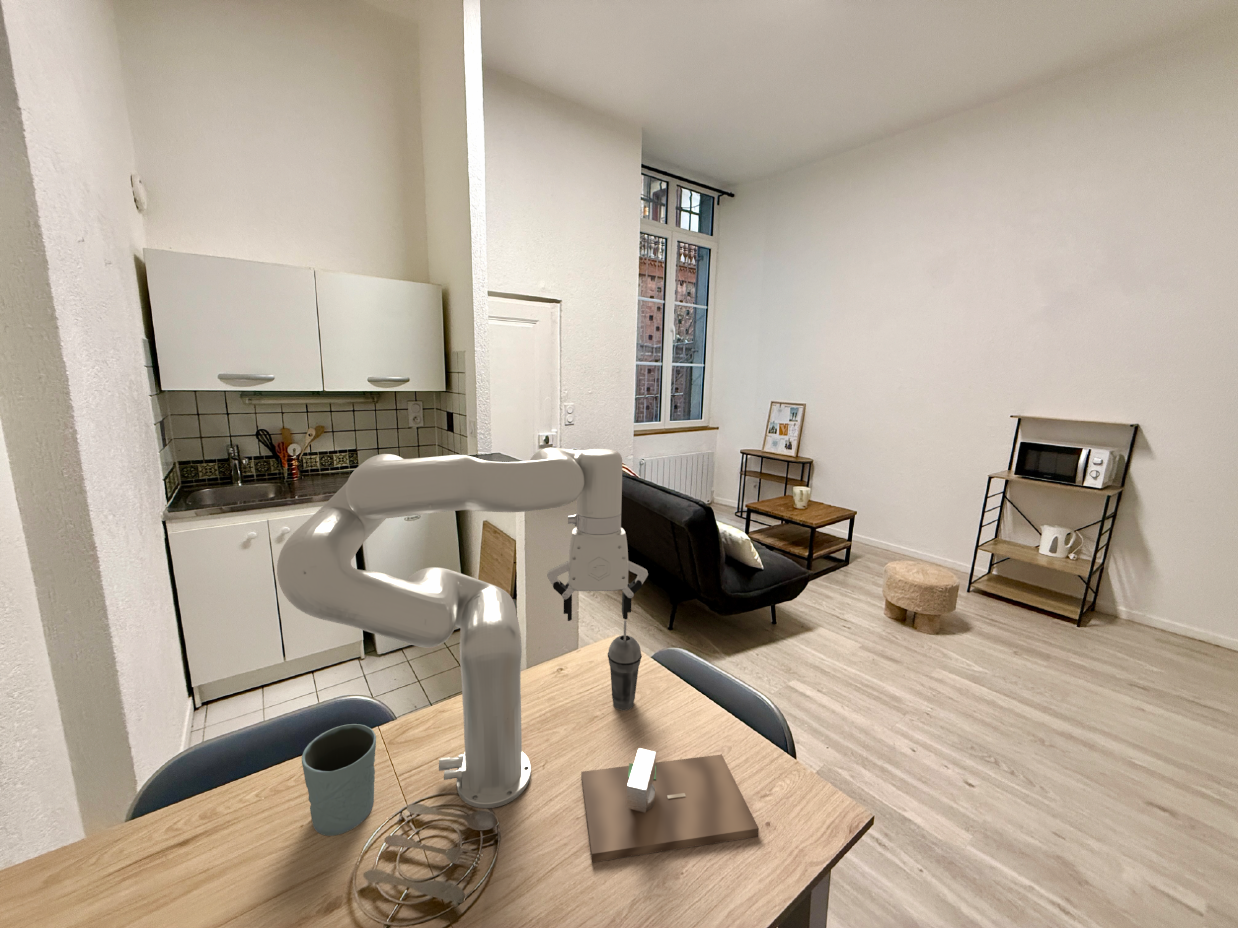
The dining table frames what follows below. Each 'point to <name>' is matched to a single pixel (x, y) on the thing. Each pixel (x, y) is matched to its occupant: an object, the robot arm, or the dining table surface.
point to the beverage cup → (624, 670)
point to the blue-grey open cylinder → (340, 777)
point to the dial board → (665, 809)
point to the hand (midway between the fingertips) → (597, 616)
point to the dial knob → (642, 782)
